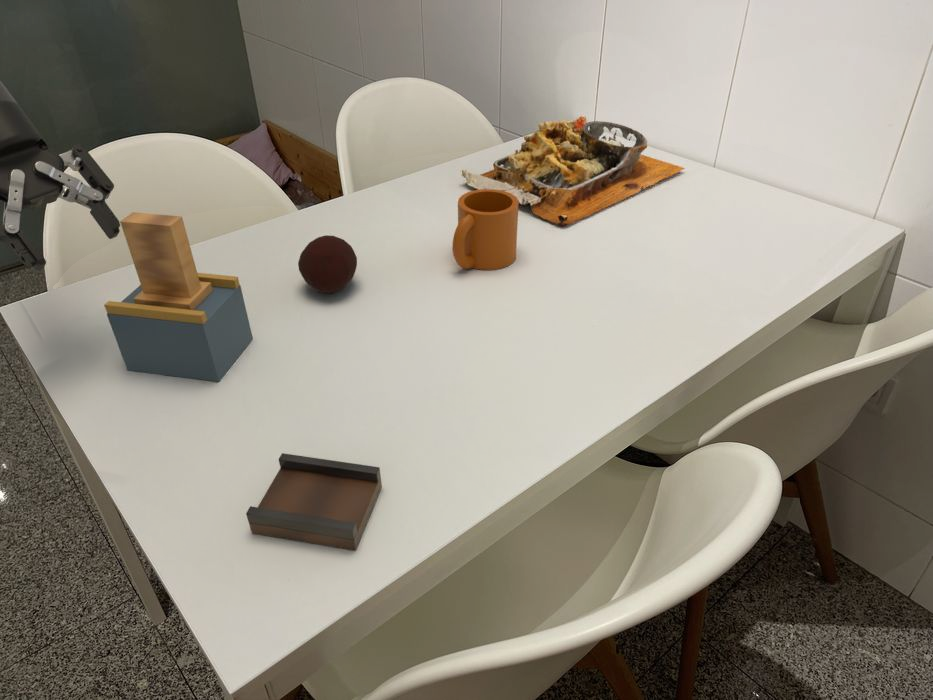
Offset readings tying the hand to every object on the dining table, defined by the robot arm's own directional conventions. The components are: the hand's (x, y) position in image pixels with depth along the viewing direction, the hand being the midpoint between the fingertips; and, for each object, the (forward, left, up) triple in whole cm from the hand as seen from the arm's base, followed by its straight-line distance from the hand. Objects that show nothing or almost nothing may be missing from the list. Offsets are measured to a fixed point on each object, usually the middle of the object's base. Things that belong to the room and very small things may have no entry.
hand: (80, 250), depth 75 cm
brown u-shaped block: (+11, -34, -16) cm, 39 cm away
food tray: (+83, +14, -16) cm, 85 cm away
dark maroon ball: (+29, +3, -16) cm, 33 cm away
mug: (+51, -2, -16) cm, 53 cm away
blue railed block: (+8, -2, -16) cm, 18 cm away
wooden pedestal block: (+8, -2, -8) cm, 11 cm away
